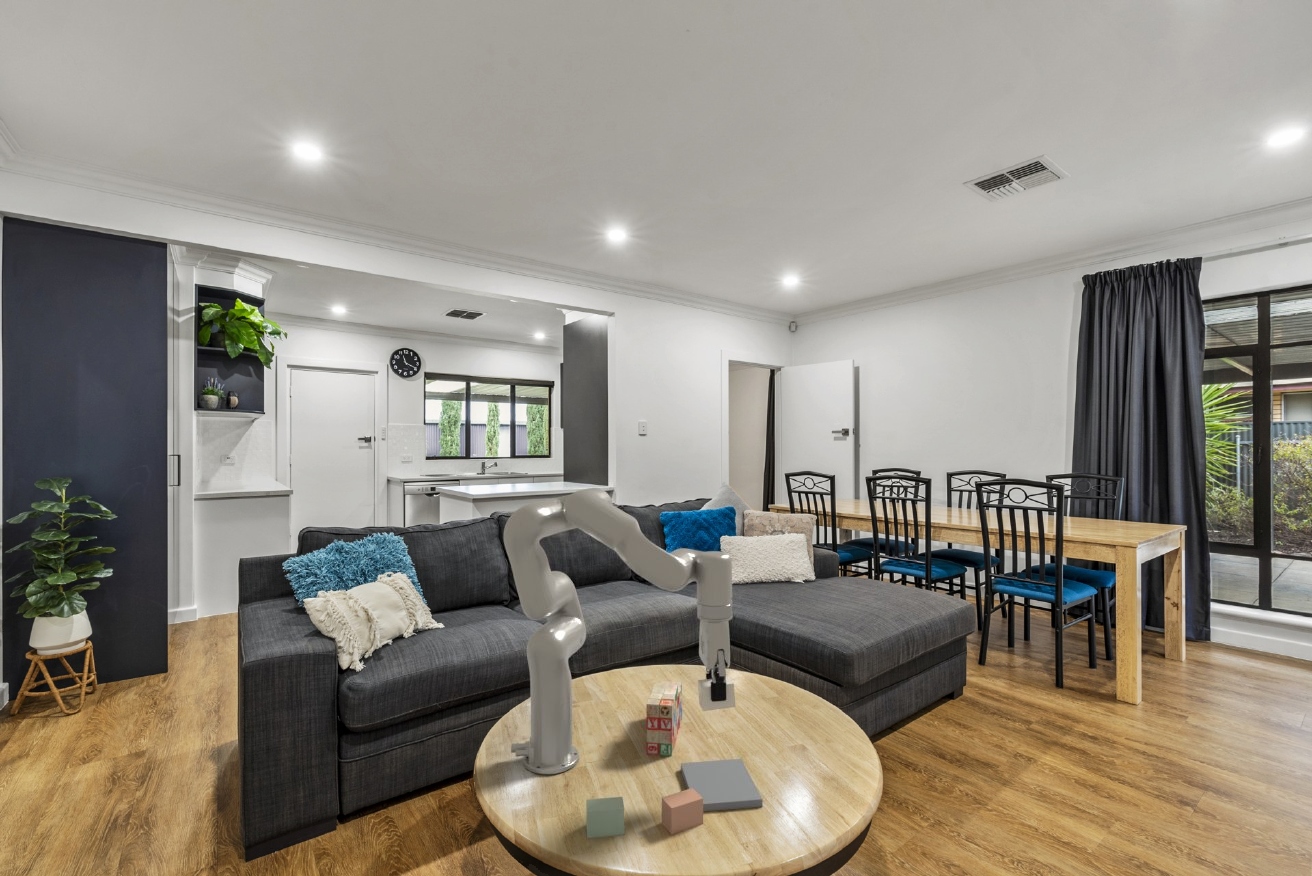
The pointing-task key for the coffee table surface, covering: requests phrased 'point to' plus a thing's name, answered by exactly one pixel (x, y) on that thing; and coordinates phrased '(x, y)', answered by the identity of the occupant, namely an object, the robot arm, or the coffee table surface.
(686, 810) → the terracotta brick
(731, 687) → the ivory brick
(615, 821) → the sage brick
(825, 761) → the coffee table surface
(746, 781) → the slate board
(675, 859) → the coffee table surface
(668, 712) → the stack of blocks
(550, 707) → the robot arm
